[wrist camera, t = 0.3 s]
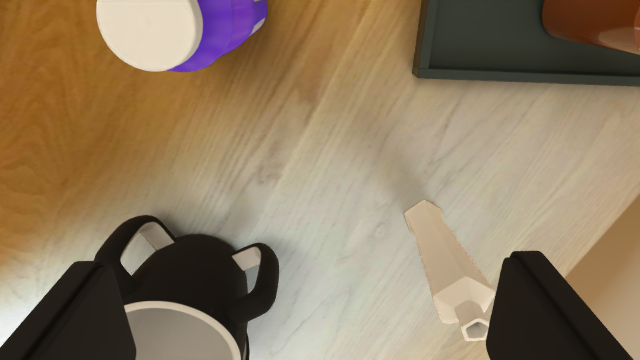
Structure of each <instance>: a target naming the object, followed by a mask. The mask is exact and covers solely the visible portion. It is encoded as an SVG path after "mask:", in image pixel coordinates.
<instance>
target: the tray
mask: <svg viewBox="0 0 640 360" xmlns="http://www.w3.org/2000/svg"><path fill="white" fill-rule="evenodd" d="M544 1H545V0H422V3H421V10H420V18H419V25H418V32H417V40H416V47H415V54H414V62H413V69H412V74H414V75H415V76H416V77H417V78H426V79H452V80H479V81H505V82H532V83H559V84H585V85H612V86H638V87H640V56H639V55H634V54H630V53H625V52H620V51H615V50H610V49H605V48H600V47H595V46H590V45H585V44H580V43H575V42H571V41H566V40H561V39H557V38H554V37H552V36H551V35H550V34H549V33H548V32H547V31H546V29H545V27H544V25H543V21H542V8H543V4H544Z"/></svg>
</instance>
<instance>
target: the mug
mask: <svg viewBox="0 0 640 360" xmlns="http://www.w3.org/2000/svg"><path fill="white" fill-rule="evenodd" d="M138 233H141V234H142V235H143V236H144V237H145V238H146V239H147V240H148V241H149V243H150V244H151V245H152V246H153V247H154V248H155V249H156V251H155V252H154V253H153V254H152V255H151V256H150V257H149V258H148V259H147V260H146V261H145V262H144V263H143V264H142V265H141V266H140V267H139V268H138V269H137V270H136V271H135V272H134V274H133V275H132V276H131V275H130V274H129V273H128V272H127V271H126V270H125V268H124V267H123V266H122V264H121V262H120V260H121V257H122V255H123V253H124V251H125V249H126V248H127V246H128V245H129V244H130V242H131V241H132V240H133V238H134V237H135V236H136V235H137V234H138ZM94 261H103V262H104V263H105V264H106V266H107V267H111V268H112V269H113V271H114V274H115V277H116V281H117V284H118V287H119V291H120V294H121V298H122V301H123V304H124V308H125V311H126V315H127V318H128V321H129V325H130V328H131V332H132V335H133V338H134V342H135V345H136V352H137V353H136V360H249V340H248V335H247V324H248V321H250V320H252V319H254V318H256V317H258V316H260V315H262V314H264V313H266V312H267V311H268V310H269V309H270V308H271V306H272V305H273V303H274V301H275V299H276V294H277V288H278V280H279V262H278V258H277V257H276V255H275V253H274V252H273V250H272V249H271V248H270V247H269V246H267V245H266V244H263V243H254V244H252V245H249V246H247V247H244V248H242V249H240V250H237V251H234V250H233V249H232V248H231V247H230V246H229V245H227V244H226V243H225V242H223V241H221V240H219V239H217V238H214V237H211V236H207V235H202V234H190V235H185V236H180V237H178V238H175V237H174V236H173V235H172V234H171V232H170V231H169V230H168V229H167V228H166V226H165V225H164V224H163V223H162V222H161V221H160V220H159V219H157V218H155V217H153V216H149V215H142V216H137V217H134V218H131V219H129V220H127V221H125V222H124V223H122V224H121V225H120V226H119V227H118V228H117V229H116V230H115V231H114V232H113V233H112V234H111V235H110V236H109V238H108V239H107V240H106V241H105V243H104V244H103V245H102V246H101V248H100V249H99V251H98V252H97V254H96V256H95V258H94ZM259 264H260V265H259ZM257 265H259V271H258V276H257V280H256V284H255V287H254V289H253V290H252V291H251V292H250V293H248V289H247V278H246V273H245V270H247V269H250V268H252V267H254V266H257Z"/></svg>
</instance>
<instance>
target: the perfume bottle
mask: <svg viewBox="0 0 640 360" xmlns="http://www.w3.org/2000/svg"><path fill="white" fill-rule="evenodd" d="M404 216H405V219H406V222H407V225H408V227H409V230H410V232H411V233H412V234H413V235H414V236H415V239H416V242H417V246H418V249H419V253H420V256H421V259H422V263H423V266H424V270H425V273H426V276H427V280H428V283H429V287H430V290H431V293H432V297H433V300H434V303H435V305H436V308H437V311H438V313H439V316H440V319H441V321H442V323H458V322H459V323H460V325H461V330H462V333H463V336H464V339H465V340H466V341H479V340H485V339H486V337H487V332H488V328H489V323H490V322H489V321H488V320H487V318H486V316H485V312H486V310H487V308H488V306H489V305H490V303H491V301H492V299H493V297H494V295H495V291H494V289H493V288H492V287H491V285H490V284H489V283H488V281H487V280H486V278H485V277H484V276H483V274H482V273H481V271H480V270H479V269H478V267H477V266H476V265H475V263H474V262H473V260H472V259H471V258H470V256H469V255H468V254H467V252H466V251H465V249H464V248H463V247H462V245H461V244H460V243H459V241H458V240H457V238H456V237H455V236H454V234H453V233H452V231H451V230H450V229H449V227H448V226H447V225H446V223H445V222H444V220H443V211H442V210H441V209H440V208H438V207H436V206H435V205H433V204H431V203H430V202H428V201H426V200H422V201H420V202H419V203H418V204H416V205H415V206H413V207H412V208H410V209H409V210H407V211H406V212H405V213H404Z"/></svg>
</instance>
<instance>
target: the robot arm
mask: <svg viewBox="0 0 640 360" xmlns="http://www.w3.org/2000/svg"><path fill="white" fill-rule="evenodd" d="M486 348H487V352H488V355H489V357H490V359H491V360H633V359H632V358H631V356H630V355H629V354H628V353H627V352H626V350H625V349H624V348H623V347H622V346H621V345H620V343H619V342H618V341H617V340H616V339H615V338H614V337H613V335H612V334H611V333H610V332H609V331H608V329H607V328H606V327H605V326H604V325H603V324H602V322H601V321H600V320H599V319H598V318H597V317H596V315H595V314H594V313H593V312H592V311H591V309H590V308H589V307H588V306H587V305H586V304H585V302H584V301H583V300H582V299H581V298H580V297H579V295H578V294H577V293H576V292H575V291H574V290H573V288H572V287H571V286H570V285H569V284H568V283H567V281H566V280H565V279H564V278H563V277H562V276H561V274H560V273H559V272H558V271H557V270H556V268H555V267H554V266H553V265H552V264H551V263H550V261H549V260H548V259H547V258H546V257H545V256H544V254H542V253H541V252H540V251H514V252H512V254H511V255H510V258H505V259H504V261H503V264H502V268H501V273H500V278H499V282H498V287H497V291H496V296H495V300H494V305H493V310H492V314H491V319H490V323H489V328H488V332H487V337H486ZM136 353H137V352H136V345H135V342H134V338H133V335H132V332H131V328H130V325H129V321H128V318H127V315H126V311H125V308H124V304H123V301H122V298H121V294H120V291H119V287H118V284H117V281H116V277H115V274H114V271H113V269H112V268H111V267H107V266H106V264H105V263H104V262H103V261H77V262H74V263H73V264H72V265H71V266H70V267H69V268H68V270H67V271H66V272H65V273H64V274H63V275H62V277H61V278H60V279H59V280H58V281H57V282H56V284H55V285H54V286H53V287H52V288H51V289H50V290H49V292H48V293H47V294H46V295H45V296H44V297H43V299H42V300H41V301H40V302H39V303H38V304H37V306H36V307H35V308H34V309H33V310H32V311H31V313H30V314H29V315H28V316H27V317H26V318H25V319H24V321H23V322H22V323H21V324H20V325H19V326H18V328H17V329H16V330H15V331H14V332H13V333H12V335H11V336H10V337H9V338H8V339H7V340H6V342H5V343H4V344H3V345H2V346H1V347H0V360H136Z"/></svg>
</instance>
